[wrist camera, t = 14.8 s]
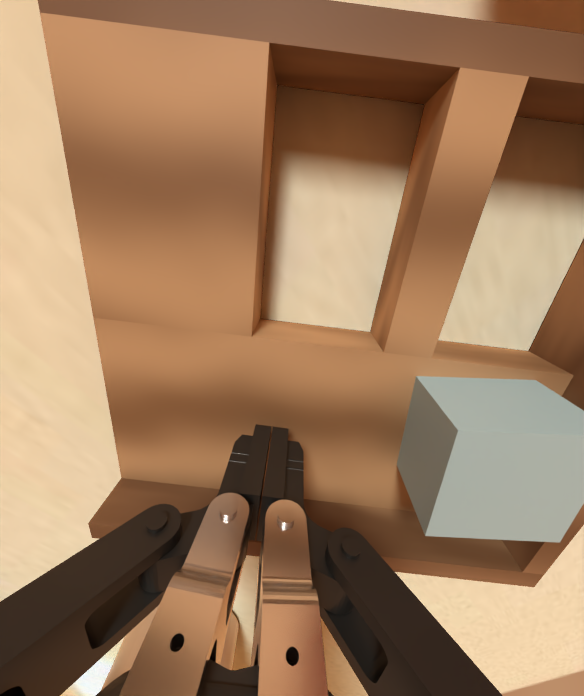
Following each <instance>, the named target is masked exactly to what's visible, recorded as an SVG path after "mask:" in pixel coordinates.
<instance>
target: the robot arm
mask: <svg viewBox="0 0 584 696" xmlns="http://www.w3.org/2000/svg"><path fill="white" fill-rule="evenodd" d="M271 427H272V426H266V425H258V424H256V425H255V429H254V433H253V436H250V435H243V434H242V435H241V436H240V437H239V438H238V439H237V440H236V441H235V443H234V446H233V449H232V453H231V455H230V458H229V462H228V465H227V468H226V471H225V474H224V477H223V480H222V483H221V486H220V489H219V492H218V495H217V496H216V498H215V499H214V500H213V501H212V502H211V503H210V504H209V505H207V506H206V507H204V508H202V509H199V510H196V511H191V512H185V513H180V512H179V510H178V509H177V508H176V507H175V506H173V505H170V504H158V505H154V506H152V507H150V508H148V509H146V510H144V511H143V512H141V513H140V514H138V515H137V516H135V517H133V518H132V519H130V520H129V521H127V522H125V523H124V524H122V525H121V526H119V527H118V528H116V529H114V530H113V531H111V532H110V533H108V534H107V535H105V536H103V537H102V538H100V539H99V540H97V541H95V542H94V543H92V544H91V545H89V546H88V547H86V548H84V549H83V550H81V551H80V552H78V553H77V554H75V555H73V556H72V557H70V558H69V559H67V560H65V561H64V562H62V563H61V564H59V565H58V566H56V567H54V568H53V569H51V570H50V571H48V572H47V573H45V574H43V575H42V576H40V577H39V578H37V579H36V580H34V581H32V582H31V583H29V584H28V585H26V586H24V587H23V588H21V589H20V590H18V591H17V592H15V593H13V594H12V595H10V596H9V597H7V598H6V599H4V600H2V601H1V602H0V696H60V695H61V694H62V693H63V692H64V691H65V690H66V689H68V688H69V687H70V686H71V685H72V684H73V683H74V682H75V681H76V680H77V679H79V678H80V677H81V676H82V675H83V674H84V673H85V672H86V671H87V670H88V669H89V668H91V667H92V666H93V665H94V664H95V663H96V662H97V661H98V660H99V659H100V658H102V657H103V656H104V655H105V654H106V653H107V652H108V651H109V650H110V649H111V648H113V647H114V646H115V645H116V644H117V643H118V642H119V641H120V640H121V639H122V638H123V637H125V638H124V640H123V642H122V645H121V647H120V649H119V651H118V654H117V656H116V658H115V660H114V663H113V665H112V667H111V670H110V672H109V674H108V676H107V678H106V680H105V683H104V685H103V687H102V690H101V691H100V692H99V693H98V694H97V695H96V696H333V695H332V694H331V693H330V692H329V691H328V689H327V679H326V669H325V659H324V650H323V640H322V630H321V620H320V616H321V618H322V619H323V621H324V623H325V624H326V626H327V628H328V629H329V631H330V633H331V634H332V636H333V638H334V639H335V641H336V642H337V644H338V646H339V647H340V649H341V651H342V652H343V654H344V656H345V657H346V659H347V661H348V662H349V664H350V666H351V667H352V669H353V671H354V672H355V674H356V675H357V677H358V679H359V680H360V682H361V684H362V685H363V687H364V689H365V690H366V692H367V694H368V695H369V696H502V695H501V693H500V692H499V691H498V690H497V689H496V688H495V687H494V685H493V684H492V683H491V682H490V681H489V680H488V679H487V677H486V676H485V675H484V674H483V673H482V672H481V671H480V669H479V668H478V667H477V666H476V665H475V664H474V663H473V661H472V660H471V659H470V658H469V657H468V656H467V655H466V653H465V652H464V651H463V650H462V649H461V648H460V647H459V645H458V644H457V643H456V642H455V641H454V640H453V638H452V637H451V636H450V635H449V634H448V633H447V632H446V630H445V629H444V628H443V627H442V626H441V625H440V624H439V622H438V621H437V620H436V619H435V618H434V617H433V616H432V614H431V613H430V612H429V611H428V610H427V609H426V608H425V606H424V605H423V604H422V603H421V602H420V601H419V600H418V598H417V597H416V596H415V595H414V594H413V593H412V592H411V590H410V589H409V588H408V587H407V586H406V585H405V584H404V582H403V581H402V580H401V579H400V578H399V577H398V576H397V574H396V573H395V572H394V571H393V570H392V569H391V568H390V566H389V565H388V564H387V563H386V562H385V561H384V559H383V558H382V557H381V556H380V555H379V554H378V553H377V551H376V550H375V549H374V548H373V547H372V546H371V545H370V543H369V542H368V541H367V540H366V539H365V538H364V537H363V536H362V535H361V534H360V533H359V532H357V531H355V530H353V529H351V528H339V529H336V530H335V531H334V532H331V531H329V530H327V529H325V528H323V527H320V526H319V525H317V524H316V523H314V522H313V521H312V520H311V519H310V518H309V516H308V515H307V513H306V511H305V508H304V471H303V470H304V463H303V461H304V451H303V449H302V447H301V445H300V443H299V442H296V441H288V431H289V428H281V427H274V426H273V429H272V436H271V442H270V435H271ZM269 442H270V449H269ZM268 450H269V455H268ZM267 457H268V462H267ZM266 464H267V469H266ZM265 470H266V475H265ZM264 477H265V482H264ZM263 483H264V488H263ZM262 490H263V495H262ZM261 496H262V502H261ZM260 502H261V510H260V517H259V525H258V532H257V540H256V541H262V542H261V550H260V558H259V565H258V577H257V592H256V607H255V622H254V636H253V647H252V657H251V667H247V668H244V669H240V670H235V671H233V670H232V667H233V661H234V654H235V648H236V642H237V636H238V629H239V624H238V621H237V618H236V617H235V616H234V614H233V613H232V608H233V604H234V600H235V596H236V592H237V588H238V584H239V580H240V576H241V572H242V568H243V563H244V560H245V558H246V554H247V548H248V542H249V540H254V541H255V534H256V528H257V522H258V515H259V509H260Z"/></svg>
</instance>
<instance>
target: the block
mask: <svg viewBox="0 0 584 696" xmlns="http://www.w3.org/2000/svg"><path fill="white" fill-rule="evenodd" d="M397 467H398V469H399V472H400V474H401V477H402V479H403V482H404V484H405V487H406V489H407V492H408V494H409V497H410V499H411V502H412V504H413V507H414V509H415V512H416V514H417V517H418V519H419V522H420V524H421V527H422V529H423V532H424V534H425V536H435V537H456V538H476V539H497V540H517V541H538V542H558V543H560V541H561V540H562V538H563V536H564V535H565V533H566V531H567V530H568V528H569V527H570V525H571V523H572V522H573V520H574V518H575V517H576V515H577V514H578V512H579V510H580V509H581V507H582V505H583V504H584V411H583V410H582V409H580V408H579V407H577V406H575V405H574V404H572V403H571V402H569V401H568V400H566V399H565V398H563V397H561V396H560V395H558V394H557V393H555V392H554V391H552V390H551V389H549V388H547V387H546V386H544V385H543V384H541V383H540V382H538V381H537V380H519V379H489V378H459V377H429V376H416V378H415V383H414V387H413V392H412V397H411V401H410V406H409V410H408V415H407V419H406V424H405V429H404V433H403V438H402V442H401V447H400V451H399V456H398V461H397Z"/></svg>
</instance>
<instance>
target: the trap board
mask: <svg viewBox="0 0 584 696" xmlns="http://www.w3.org/2000/svg"><path fill="white" fill-rule="evenodd" d="M38 3H39V9H40V15H41V21H42V26H43V32H44V38H45V43H46V49H47V55H48V61H49V66H50V72H51V78H52V83H53V89H54V95H55V101H56V106H57V112H58V118H59V123H60V129H61V135H62V140H63V146H64V152H65V158H66V163H67V169H68V175H69V180H70V186H71V192H72V198H73V203H74V209H75V215H76V220H77V226H78V232H79V238H80V243H81V249H82V255H83V260H84V266H85V272H86V277H87V283H88V289H89V295H90V300H91V306H92V312H93V317H94V323H95V329H96V335H97V340H98V346H99V352H100V357H101V363H102V369H103V375H104V380H105V386H106V392H107V397H108V403H109V409H110V415H111V420H112V426H113V432H114V437H115V443H116V449H117V454H118V460H119V466H120V472H121V477H122V478H121V480H120V481H119V482H118V484H117V485H116V486H115V488H114V489H113V491H112V492H111V493H110V495H109V496H108V497H107V499H106V500H105V501H104V503H103V504H102V506H101V507H100V508H99V510H98V511H97V512H96V514H95V515H94V516H93V518H92V519H91V520H90V522H89V523H88V524H89V528H90V532H91V535H92V538H102V537H103V536H105V535H107V534H108V533H110V532H111V531H113V530H114V529H116V528H118V527H119V526H121V525H122V524H124V523H125V522H127V521H129V520H130V519H132V518H133V517H135V516H137V515H138V514H140V513H141V512H143V511H144V510H146V509H148V508H150V507H152V506H154V505H158V504H170V505H173V506H175V507H176V508H177V509H178V510H179V512H180V513H185V512H191V511H196V510H199V509H202V508H204V507H206V506H207V505H209V504H210V503H211V502H212V501H213V500H214V499H215V498H216V496H217V495H218V492H219V489H220V486H221V483H222V480H223V477H224V474H225V471H226V468H227V465H228V462H229V458H230V455H231V453H232V449H233V446H234V443H235V441H236V440H237V439H238V438H239V437H240V436H241V435H242V434H243V435H250V436H253V433H254V429H255V425H256V424H258V425H266V426H272V427H271V435H270V442H271V436H272V429H273V426H274V427H281V428H289V431H288V441H296V442H299V443H300V445H301V447H302V449H303V451H304V461H303V463H304V470H303V471H304V508H305V511H306V513H307V515H308V516H309V518H310V519H311V520H312V521H313V522H314V523H316V524H317V525H319V526H320V527H323V528H325V529H327V530H329V531H331V532H334V531H335V530H336V529H339V528H351V529H353V530H355V531H357V532H359V533H360V534H361V535H362V536H363V537H364V538H365V539H366V540H367V541H368V542H369V543H370V545H371V546H372V547H373V548H374V549H375V550H376V551H377V553H378V554H379V555H380V556H381V557H382V558H383V559H384V561H385V562H386V563H387V564H388V565H389V566H390V568H391V569H392V570H393V571H394V572H403V573H412V574H421V575H430V576H439V577H448V578H457V579H465V580H474V581H483V582H492V583H501V584H510V585H519V586H528V587H535V585H536V584H537V583H538V581H539V580H540V579H541V578H542V576H543V575H544V574H545V573H546V571H547V570H548V569H549V568H550V566H551V565H552V564H553V563H554V561H555V560H556V559H557V558H558V556H559V555H560V554H561V552H562V551H563V550H564V549H565V547H566V546H567V545H568V544H569V542H570V541H571V540H572V539H573V537H574V536H575V535H576V534H577V532H578V531H579V530H580V529H581V527H582V526H583V525H584V504H583V505H582V507H581V509H580V510H579V512H578V514H577V515H576V517H575V518H574V520H573V522H572V523H571V525H570V527H569V528H568V530H567V531H566V533H565V535H564V536H563V538H562V540H561V541H560V543H558V542H538V541H517V540H497V539H476V538H456V537H435V536H425V534H424V532H423V529H422V527H421V524H420V522H419V519H418V517H417V514H416V512H415V509H414V507H413V504H412V502H411V499H410V497H409V494H408V492H407V489H406V487H405V484H404V482H403V479H402V477H401V474H400V472H399V469H398V467H397V461H398V456H399V451H400V447H401V442H402V438H403V433H404V429H405V424H406V419H407V415H408V410H409V406H410V401H411V397H412V392H413V387H414V383H415V378H416V376H429V377H459V378H489V379H519V380H537V381H538V382H540V383H541V384H543V385H544V386H546V387H547V388H549V389H551V390H552V391H554V392H555V393H557V394H558V395H560V396H561V397H563V398H565V399H566V400H568V401H569V402H571V403H572V404H574V405H575V406H577V407H579V408H580V409H582V410H583V411H584V241H583V243H582V245H581V247H580V249H579V251H578V253H577V255H576V257H575V259H574V261H573V263H572V265H571V267H570V269H569V271H568V273H567V275H566V277H565V279H564V281H563V283H562V285H561V287H560V289H559V291H558V293H557V295H556V297H555V299H554V301H553V303H552V305H551V307H550V309H549V312H548V314H547V316H546V318H545V320H544V322H543V324H542V326H541V328H540V330H539V332H538V334H537V336H536V338H535V340H534V342H533V344H532V346H531V348H530V350H529V351H522V350H513V349H505V348H497V347H489V346H480V345H472V344H464V343H455V342H447V341H439V340H438V338H439V335H440V332H441V329H442V327H443V324H444V321H445V318H446V315H447V312H448V309H449V306H450V303H451V301H452V298H453V295H454V292H455V289H456V286H457V283H458V280H459V277H460V275H461V272H462V269H463V266H464V263H465V260H466V257H467V254H468V251H469V249H470V246H471V243H472V240H473V237H474V234H475V231H476V228H477V225H478V223H479V220H480V217H481V214H482V211H483V208H484V205H485V202H486V199H487V197H488V194H489V191H490V188H491V185H492V182H493V179H494V176H495V173H496V171H497V168H498V165H499V162H500V159H501V156H502V153H503V150H504V147H505V145H506V142H507V139H508V136H509V133H510V130H511V127H512V124H513V121H514V119H515V116H520V117H527V118H535V119H543V120H551V121H558V122H566V123H574V124H581V125H584V34H579V33H572V32H564V31H557V30H549V29H542V28H534V27H527V26H519V25H512V24H504V23H497V22H489V21H481V20H474V19H466V18H459V17H451V16H444V15H436V14H429V13H421V12H414V11H406V10H399V9H391V8H384V7H376V6H369V5H361V4H354V3H346V2H338V1H331V0H38ZM277 85H280V86H288V87H296V88H303V89H311V90H319V91H327V92H334V93H342V94H350V95H358V96H365V97H373V98H381V99H388V100H396V101H404V102H412V103H419V104H425V106H424V110H423V114H422V119H421V123H420V127H419V131H418V135H417V139H416V144H415V148H414V152H413V156H412V160H411V164H410V169H409V173H408V177H407V181H406V185H405V189H404V194H403V198H402V202H401V206H400V210H399V214H398V219H397V223H396V227H395V231H394V235H393V239H392V244H391V248H390V252H389V256H388V260H387V265H386V269H385V273H384V277H383V281H382V285H381V290H380V294H379V298H378V302H377V306H376V310H375V315H374V319H373V323H372V327H371V331H370V332H364V331H356V330H348V329H340V328H331V327H323V326H315V325H306V324H298V323H290V322H282V321H273V320H265V319H260V315H261V301H262V287H263V273H264V259H265V245H266V231H267V217H268V203H269V189H270V175H271V161H272V147H273V133H274V119H275V105H276V92H277ZM270 442H269V449H270ZM268 455H269V450H268ZM267 462H268V457H267ZM266 469H267V464H266ZM265 475H266V470H265ZM264 482H265V477H264ZM263 488H264V483H263ZM262 495H263V490H262ZM261 502H262V496H261ZM261 502H260V509H259V515H258V522H257V528H256V534H255V541H254V540H249V542H248V548H247V554H246V555H252V556H260V550H261V542H262V541H256V540H257V532H258V525H259V517H260V510H261Z"/></svg>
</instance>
